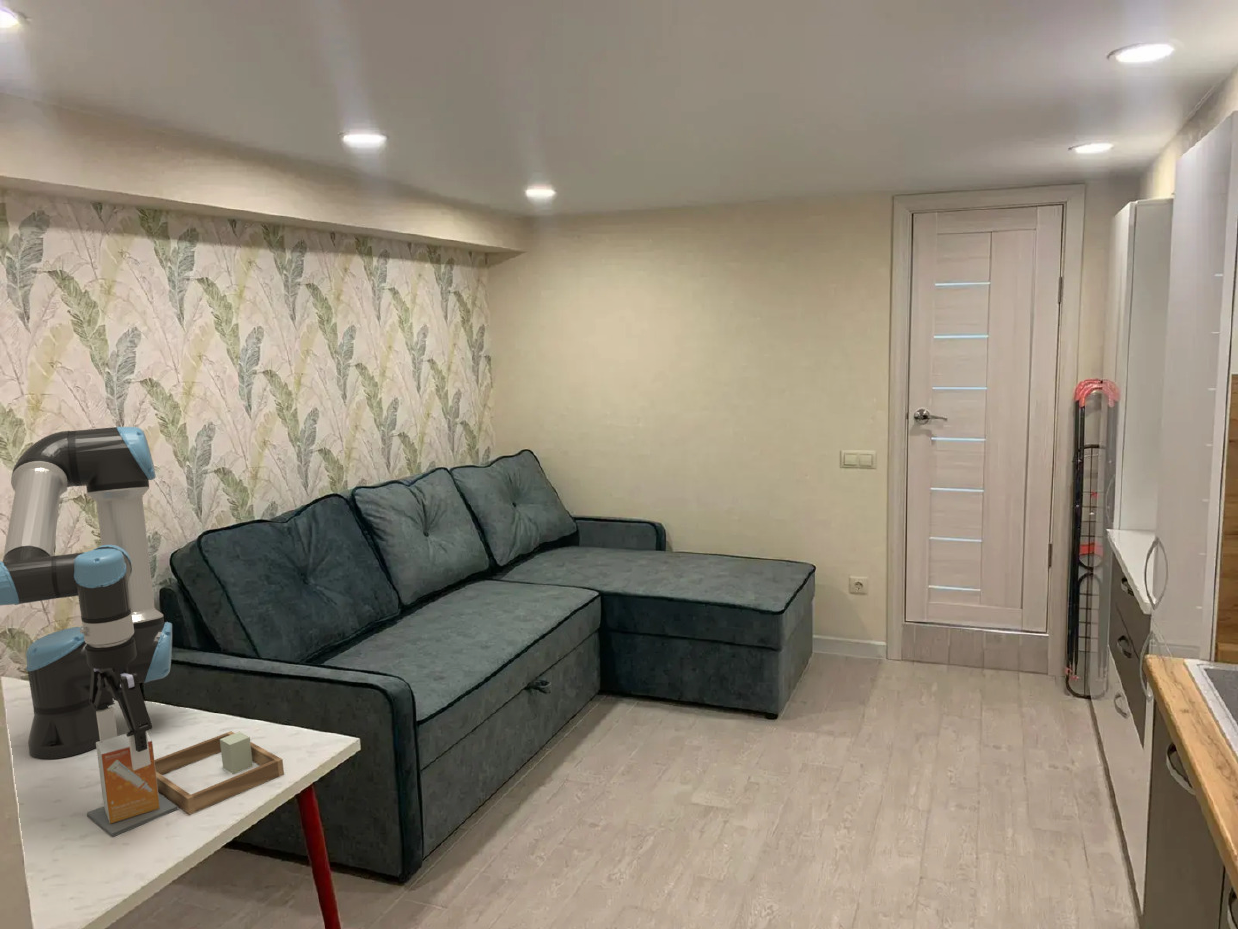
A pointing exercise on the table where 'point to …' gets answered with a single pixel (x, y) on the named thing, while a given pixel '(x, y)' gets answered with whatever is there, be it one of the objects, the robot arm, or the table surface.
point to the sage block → (236, 752)
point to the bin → (217, 792)
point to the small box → (125, 780)
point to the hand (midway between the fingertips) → (125, 755)
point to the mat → (132, 822)
